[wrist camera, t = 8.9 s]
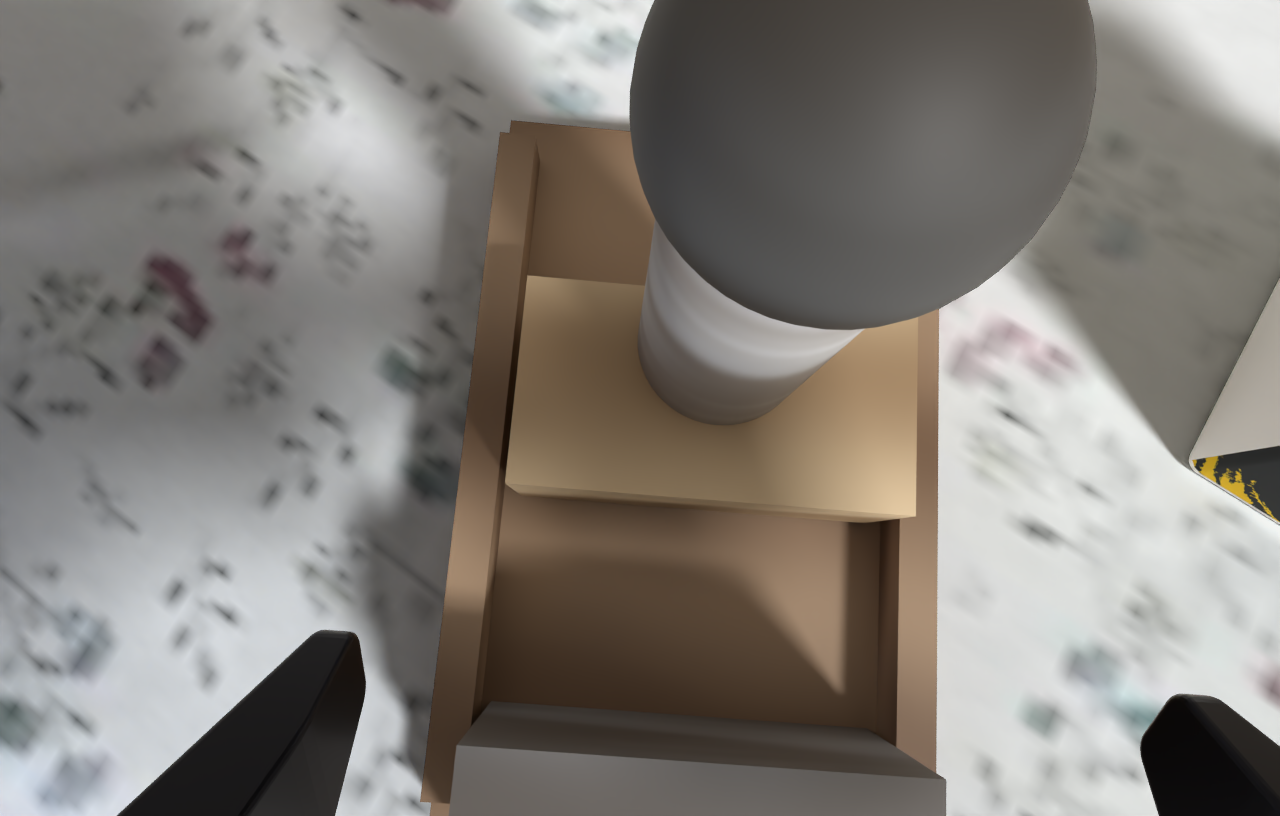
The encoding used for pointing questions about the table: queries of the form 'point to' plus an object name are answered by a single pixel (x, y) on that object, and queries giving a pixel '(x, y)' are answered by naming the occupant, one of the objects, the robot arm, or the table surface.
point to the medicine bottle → (1248, 422)
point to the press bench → (665, 588)
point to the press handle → (798, 248)
